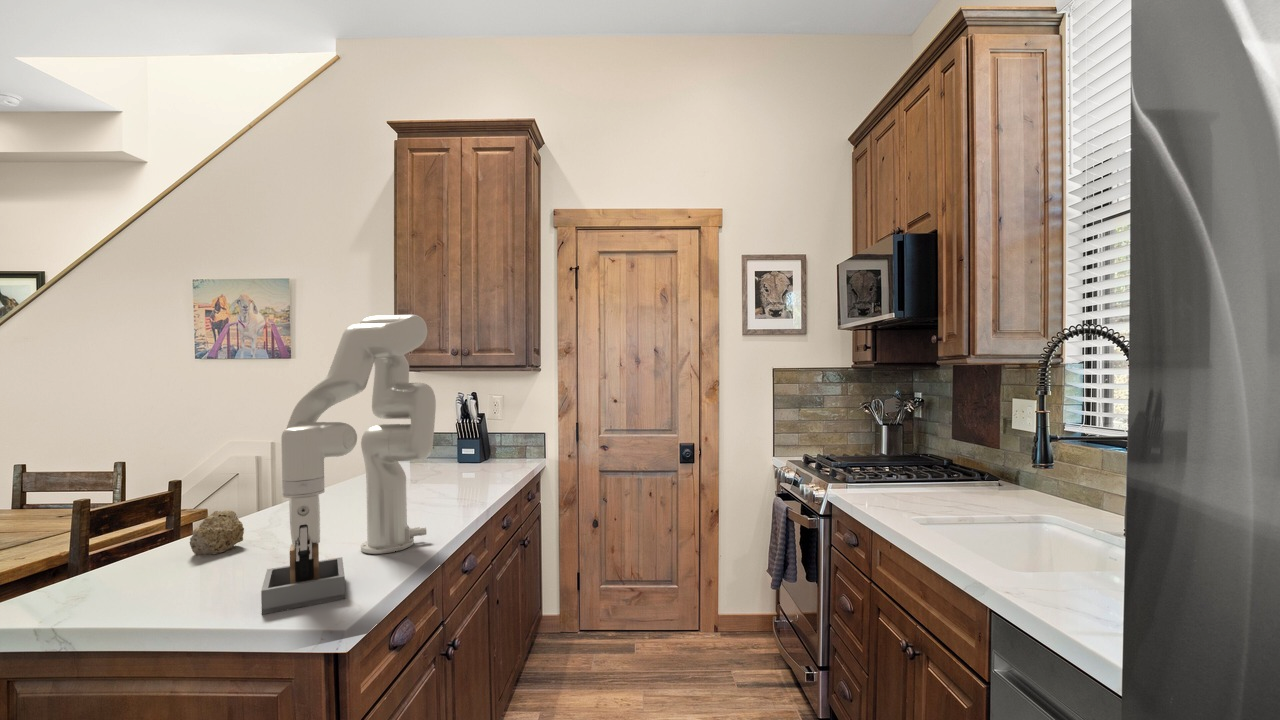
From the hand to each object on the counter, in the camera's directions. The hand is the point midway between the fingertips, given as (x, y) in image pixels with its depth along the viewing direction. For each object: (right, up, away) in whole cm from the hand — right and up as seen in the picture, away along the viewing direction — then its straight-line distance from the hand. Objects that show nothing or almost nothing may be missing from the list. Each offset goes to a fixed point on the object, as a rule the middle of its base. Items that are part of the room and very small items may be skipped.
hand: (305, 575), depth 119 cm
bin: (0, -4, 0) cm, 4 cm away
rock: (-42, -6, +31) cm, 53 cm away
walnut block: (0, -1, 0) cm, 1 cm away
